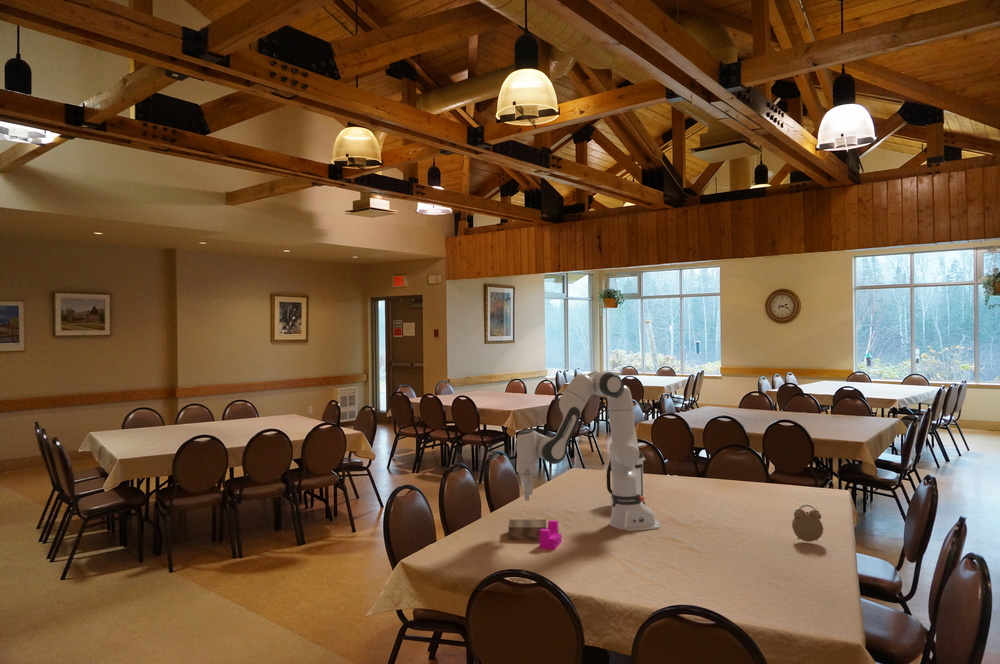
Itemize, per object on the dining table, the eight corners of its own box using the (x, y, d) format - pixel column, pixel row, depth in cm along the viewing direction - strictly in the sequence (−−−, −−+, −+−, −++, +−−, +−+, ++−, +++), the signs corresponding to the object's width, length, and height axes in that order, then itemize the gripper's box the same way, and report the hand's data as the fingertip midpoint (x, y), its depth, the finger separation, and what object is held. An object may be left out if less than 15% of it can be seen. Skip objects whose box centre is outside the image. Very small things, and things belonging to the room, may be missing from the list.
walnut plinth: (545, 533, 272) (545, 519, 272) (546, 541, 261) (546, 527, 261) (509, 533, 272) (509, 519, 272) (508, 541, 261) (508, 527, 261)
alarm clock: (821, 540, 256) (821, 504, 256) (824, 544, 251) (823, 507, 251) (792, 538, 259) (791, 502, 259) (793, 541, 255) (793, 505, 255)
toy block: (554, 550, 249) (554, 531, 249) (539, 549, 251) (539, 530, 251) (564, 539, 263) (563, 521, 263) (549, 537, 265) (549, 520, 265)
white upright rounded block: (625, 498, 327) (624, 441, 327) (652, 503, 316) (651, 444, 316) (606, 504, 315) (605, 445, 315) (633, 510, 303) (632, 449, 304)
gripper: (536, 472, 256) (536, 506, 256) (532, 462, 277) (532, 493, 277) (520, 473, 256) (521, 506, 256) (517, 462, 277) (518, 494, 276)
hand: (526, 499), depth 266 cm, fingers closed
